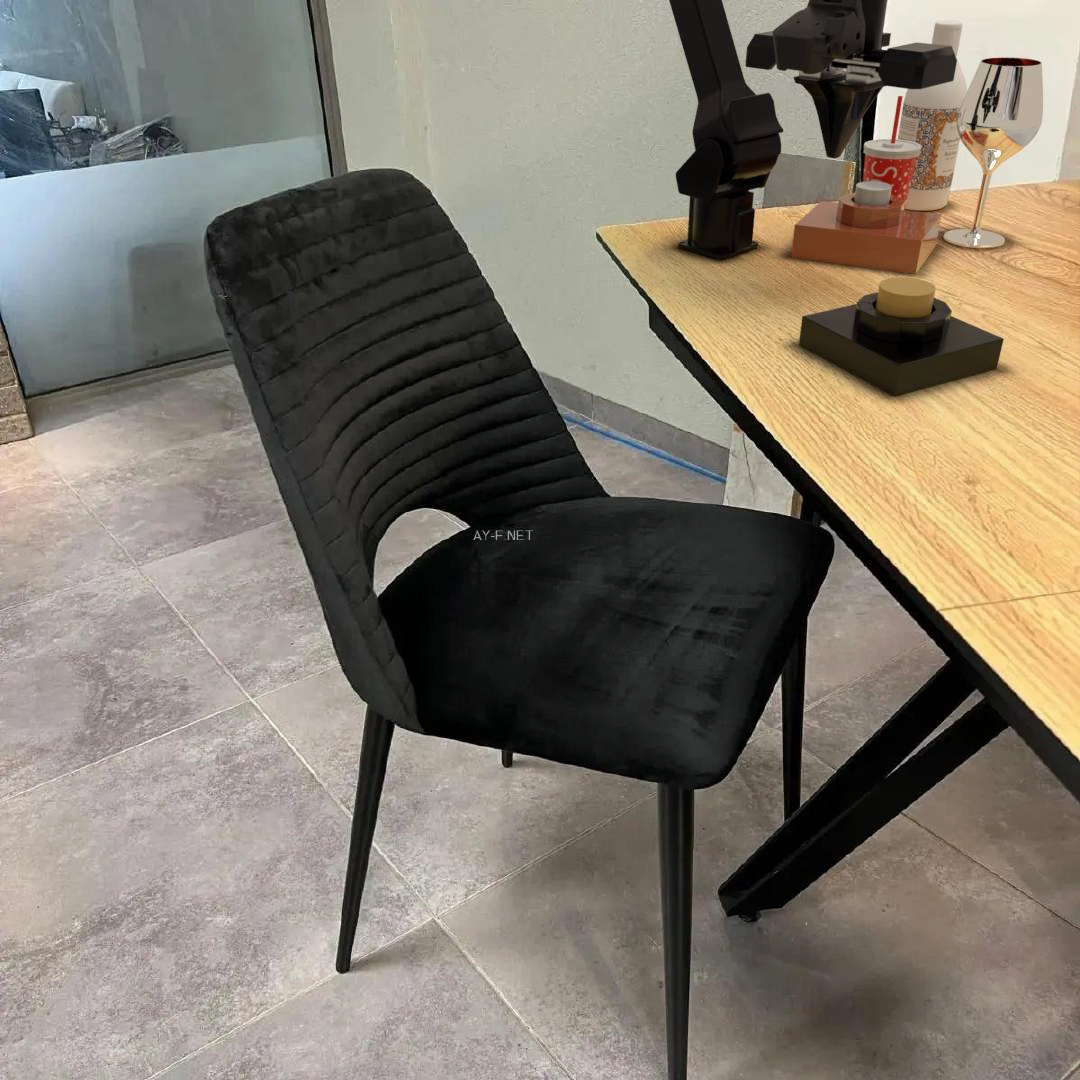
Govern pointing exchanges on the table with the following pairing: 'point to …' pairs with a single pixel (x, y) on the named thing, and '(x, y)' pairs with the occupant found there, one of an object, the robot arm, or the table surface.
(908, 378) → the black push button base
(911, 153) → the beverage cup
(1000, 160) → the wineglass
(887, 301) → the yellow cylinder
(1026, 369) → the table surface
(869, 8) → the robot arm
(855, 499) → the table surface
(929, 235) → the button housing
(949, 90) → the bath foam
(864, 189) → the white cylinder
